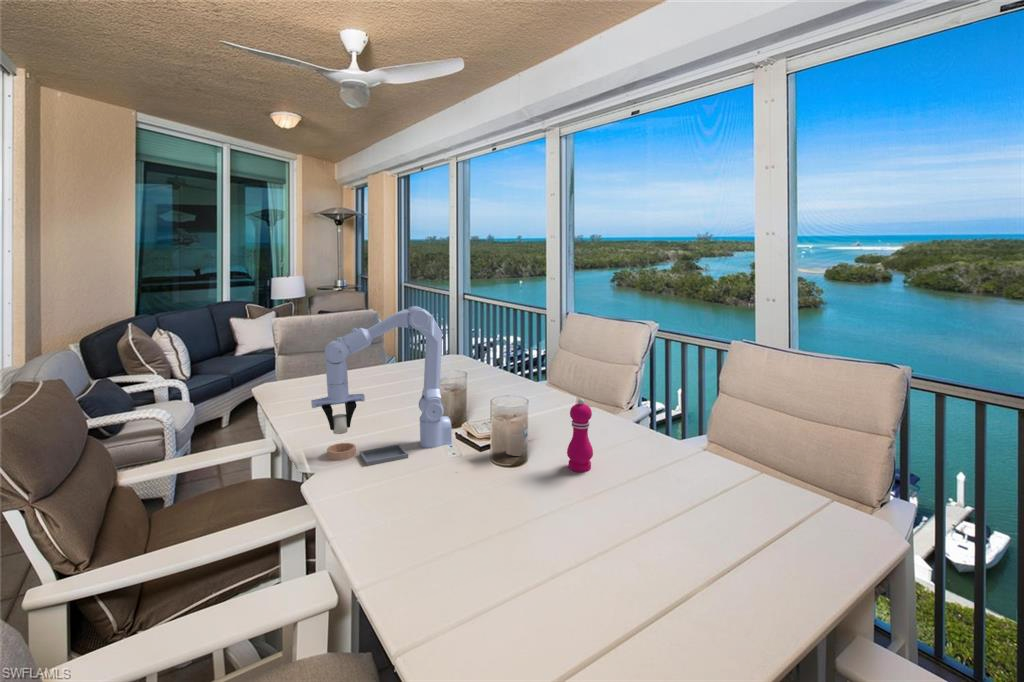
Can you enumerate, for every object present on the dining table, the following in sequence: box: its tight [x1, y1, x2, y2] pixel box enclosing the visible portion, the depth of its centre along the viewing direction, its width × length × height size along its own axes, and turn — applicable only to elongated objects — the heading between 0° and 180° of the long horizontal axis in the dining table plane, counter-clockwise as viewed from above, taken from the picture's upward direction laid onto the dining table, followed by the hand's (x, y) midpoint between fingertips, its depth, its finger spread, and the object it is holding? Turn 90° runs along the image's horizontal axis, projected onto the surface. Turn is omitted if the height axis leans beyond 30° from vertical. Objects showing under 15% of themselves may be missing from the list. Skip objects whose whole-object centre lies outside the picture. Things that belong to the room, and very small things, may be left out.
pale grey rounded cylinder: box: [332, 413, 348, 435], centre depth 143 cm, size 4×4×5 cm
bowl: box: [326, 442, 357, 461], centre depth 144 cm, size 8×8×3 cm
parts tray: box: [358, 443, 409, 467], centre depth 143 cm, size 12×9×2 cm
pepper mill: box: [566, 398, 594, 473], centre depth 135 cm, size 7×7×20 cm
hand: (340, 427), depth 143 cm, fingers closed on pale grey rounded cylinder, 4 cm apart
